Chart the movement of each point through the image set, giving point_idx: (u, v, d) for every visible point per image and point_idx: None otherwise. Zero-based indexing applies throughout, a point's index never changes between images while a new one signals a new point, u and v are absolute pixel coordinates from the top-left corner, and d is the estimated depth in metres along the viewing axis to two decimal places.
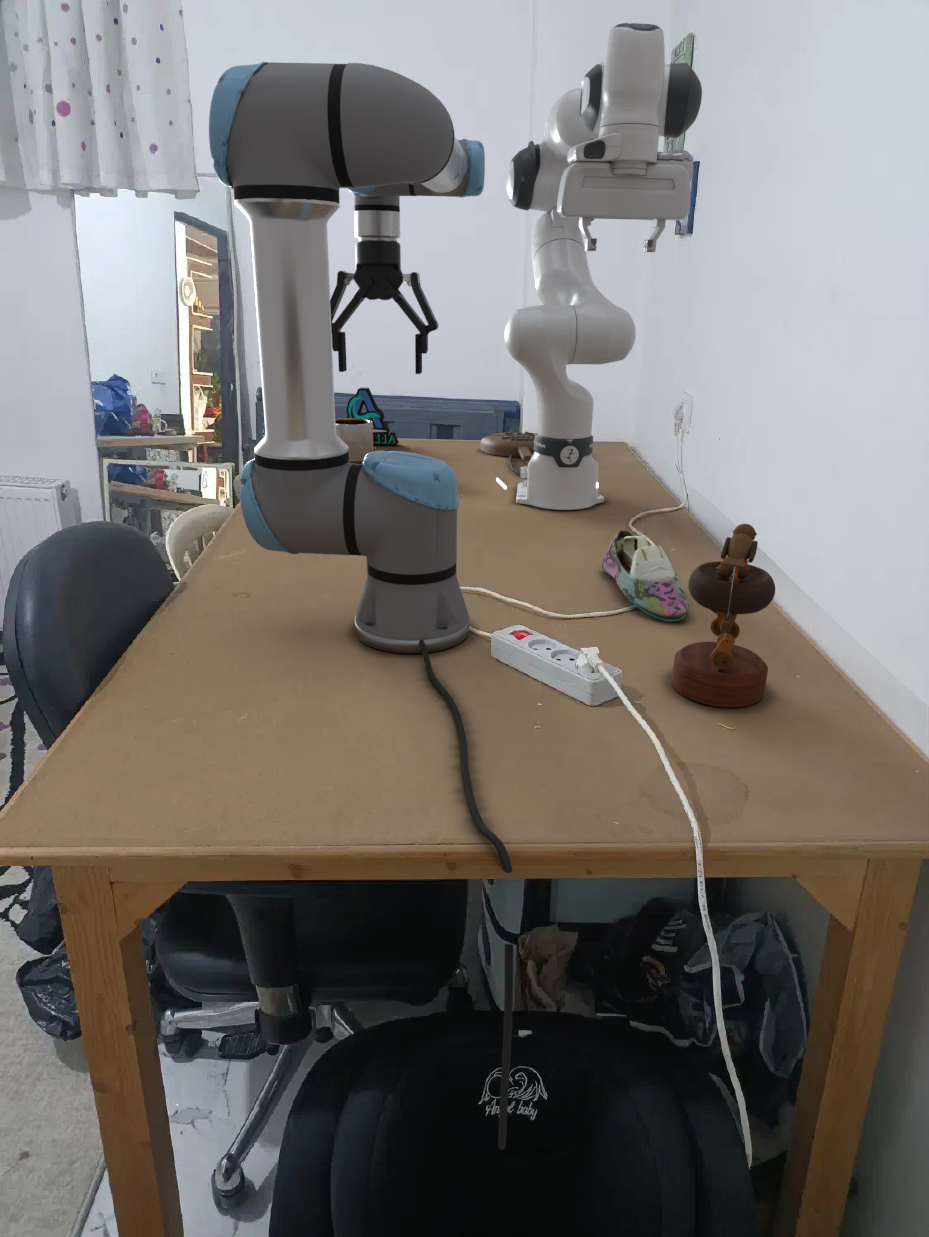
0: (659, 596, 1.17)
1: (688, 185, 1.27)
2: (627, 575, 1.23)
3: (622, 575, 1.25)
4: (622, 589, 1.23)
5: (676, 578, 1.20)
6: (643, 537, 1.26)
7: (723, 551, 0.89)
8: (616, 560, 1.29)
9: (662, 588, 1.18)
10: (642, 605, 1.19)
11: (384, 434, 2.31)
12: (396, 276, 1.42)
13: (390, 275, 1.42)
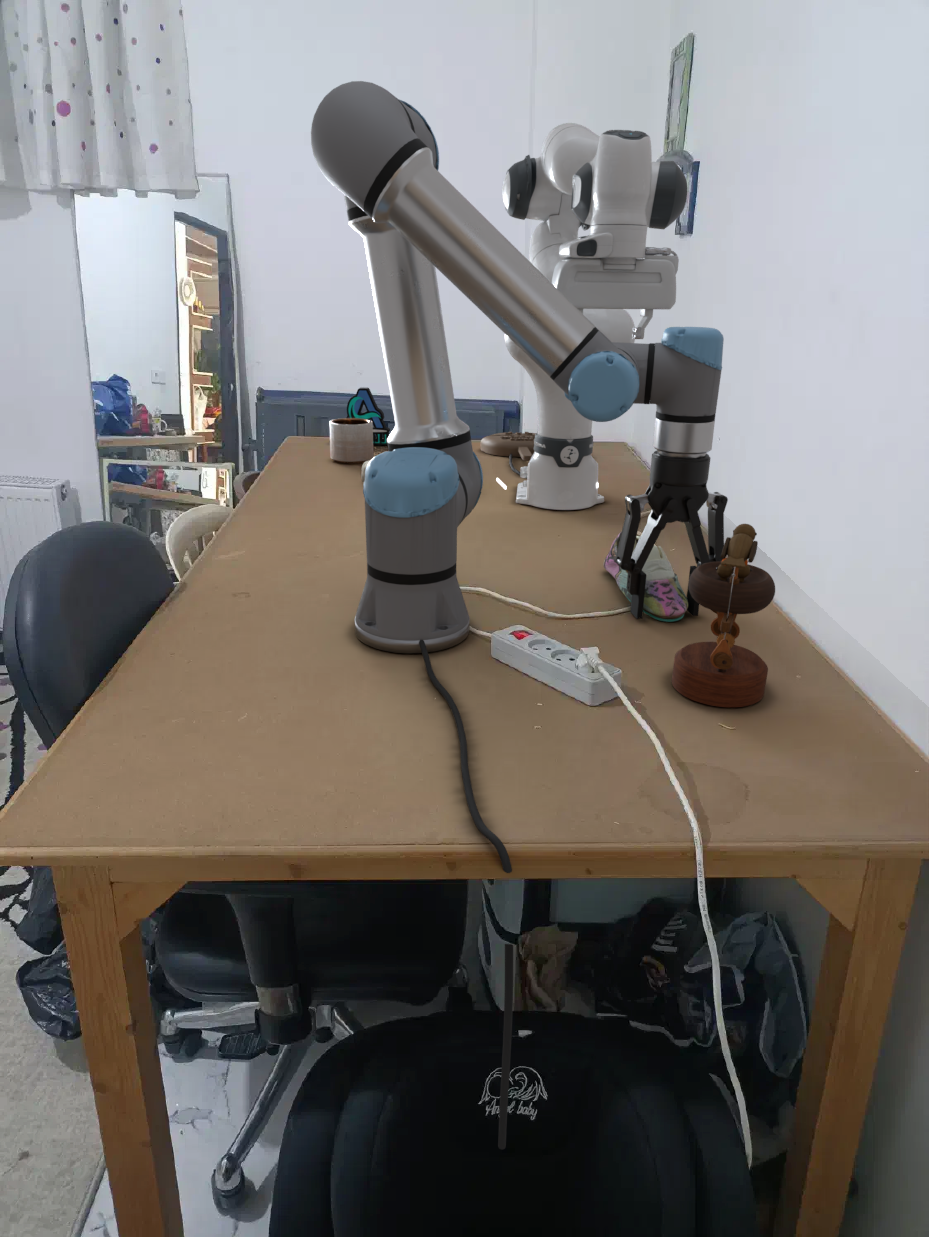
0: (657, 596, 1.17)
1: (674, 278, 1.34)
2: (627, 575, 1.23)
3: (622, 574, 1.25)
4: (621, 588, 1.23)
5: (675, 578, 1.20)
6: None
7: (723, 551, 0.89)
8: None
9: (661, 588, 1.18)
10: None
11: (384, 434, 2.31)
12: (703, 494, 1.12)
13: (696, 493, 1.12)
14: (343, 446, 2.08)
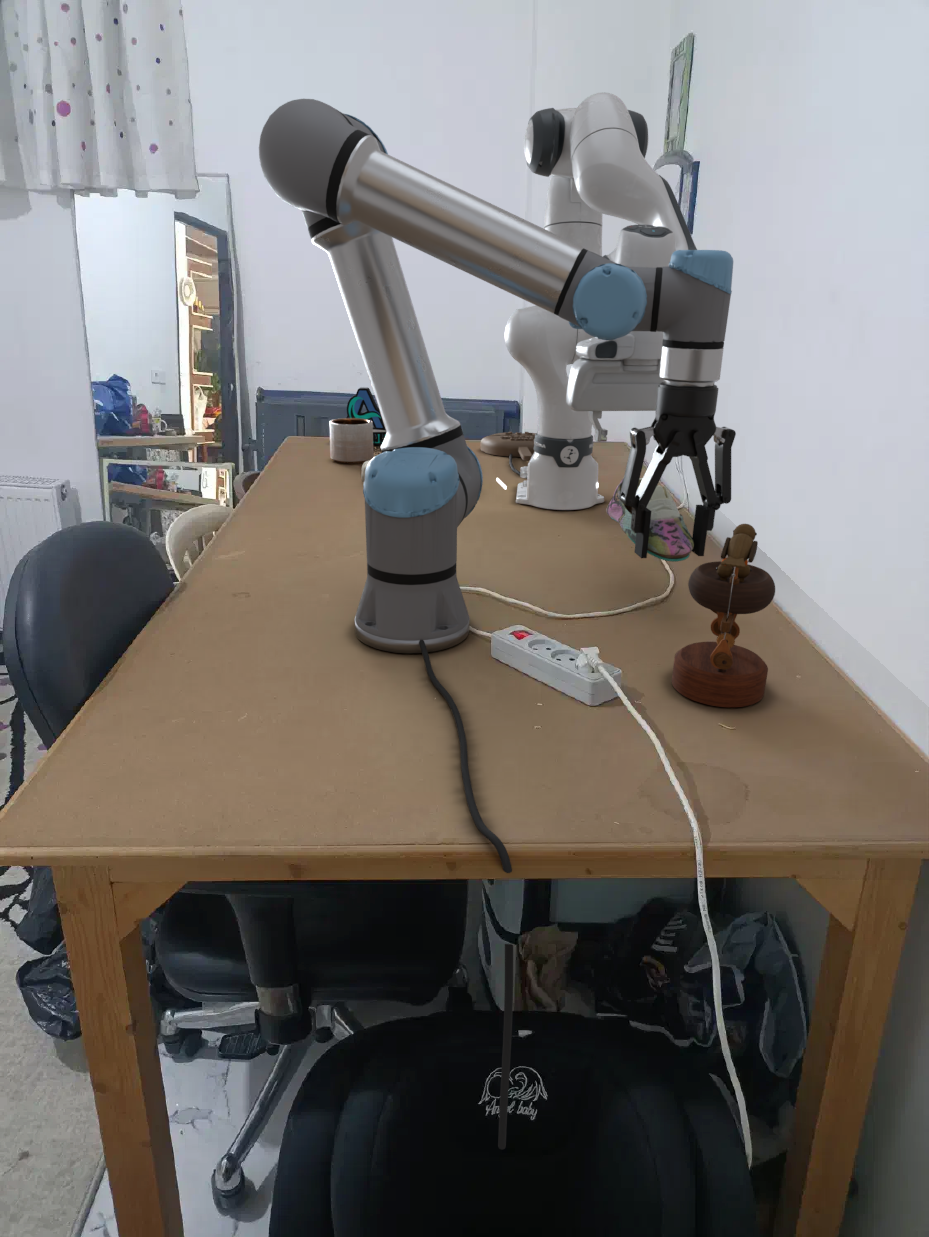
0: (662, 535, 1.14)
1: None
2: (630, 516, 1.20)
3: (625, 516, 1.22)
4: (625, 530, 1.20)
5: (680, 518, 1.16)
6: None
7: (723, 551, 0.89)
8: (620, 503, 1.26)
9: (666, 527, 1.14)
10: None
11: (384, 434, 2.31)
12: (711, 428, 1.09)
13: (704, 426, 1.09)
14: (343, 446, 2.08)
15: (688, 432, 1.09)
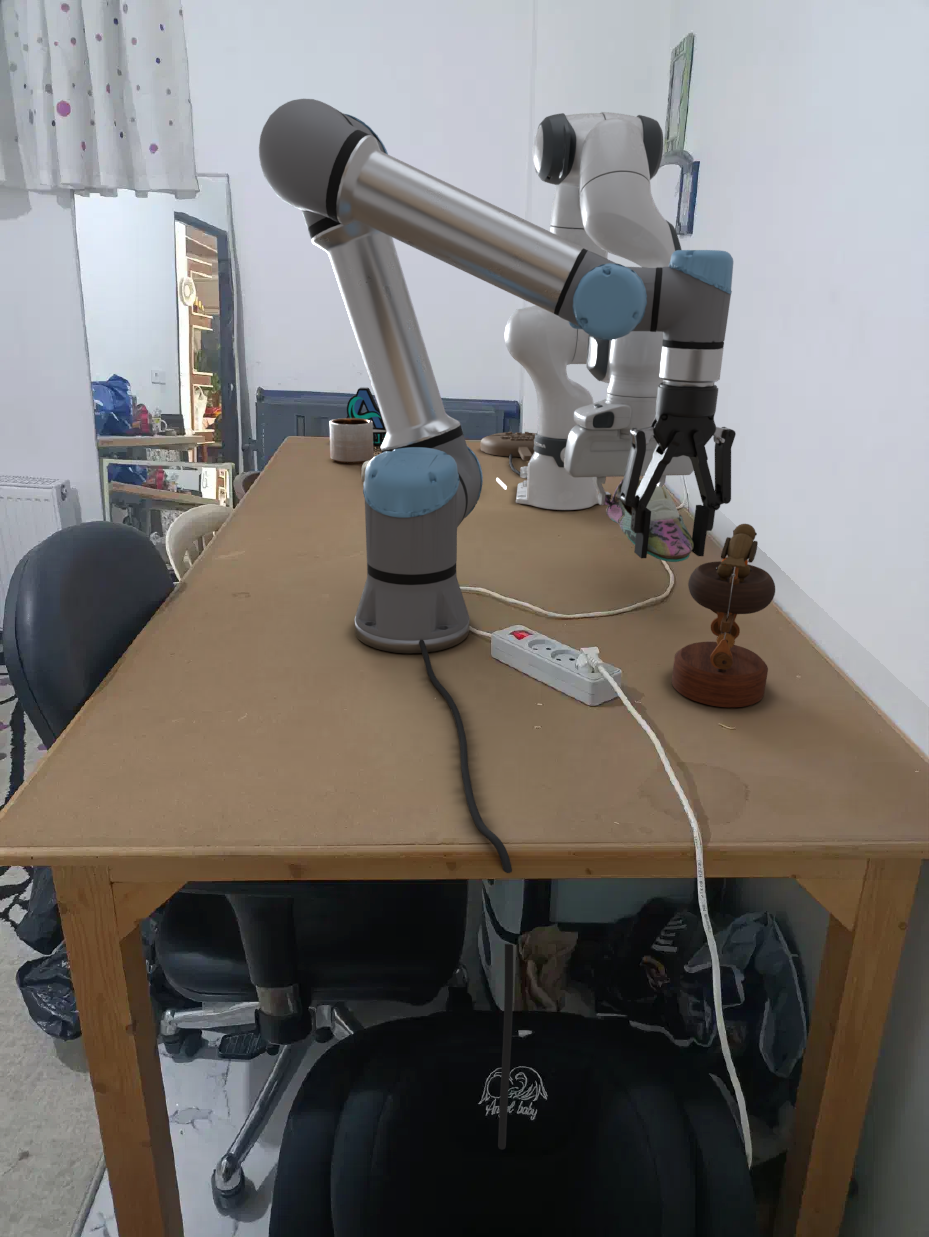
0: (662, 536, 1.14)
1: None
2: (630, 517, 1.20)
3: (625, 517, 1.22)
4: (625, 531, 1.20)
5: (680, 518, 1.16)
6: None
7: (723, 551, 0.89)
8: (620, 504, 1.26)
9: (665, 527, 1.15)
10: None
11: (384, 434, 2.31)
12: (711, 428, 1.09)
13: (704, 426, 1.09)
14: (343, 446, 2.08)
15: (688, 432, 1.09)
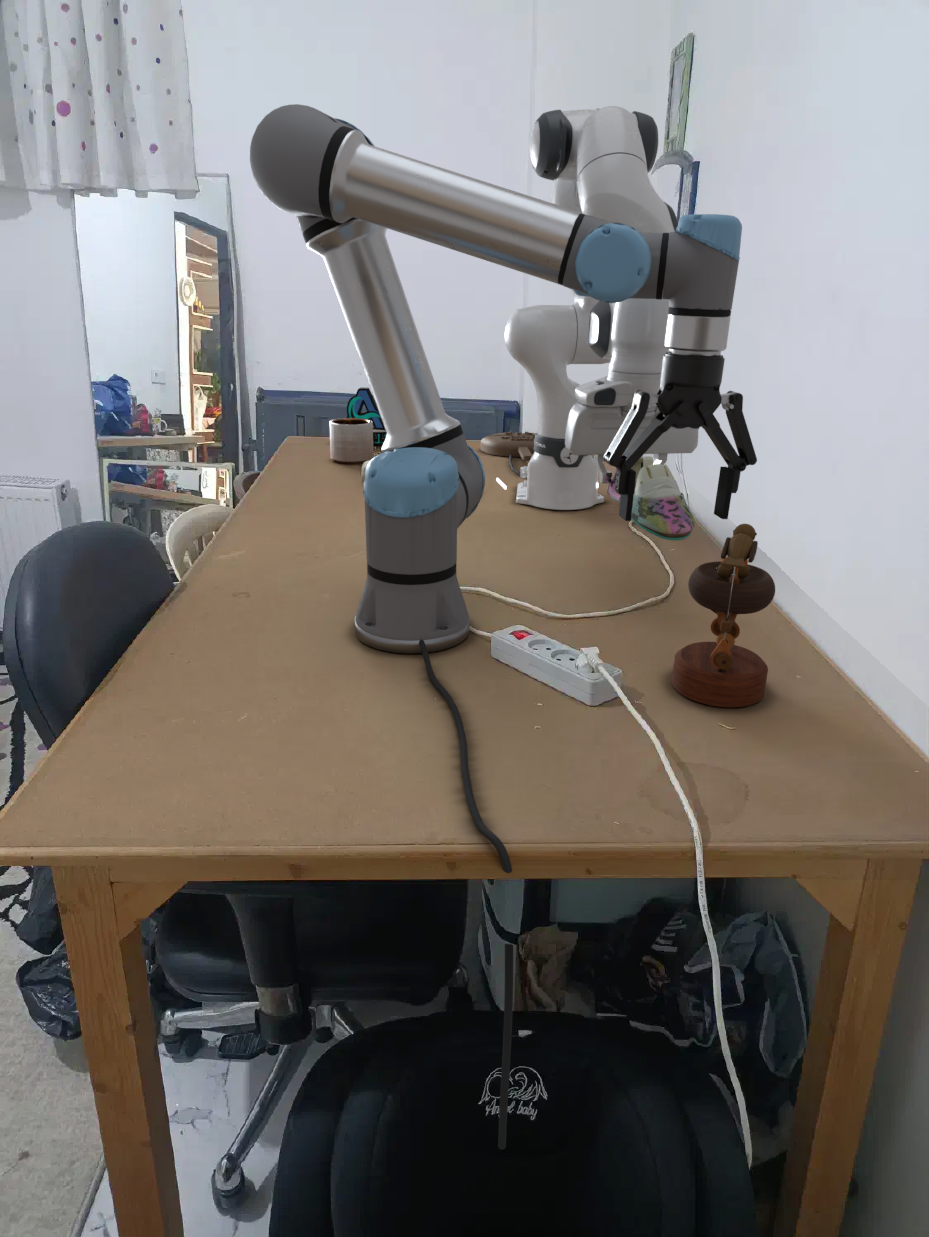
0: (663, 514, 1.13)
1: None
2: None
3: None
4: None
5: (681, 497, 1.15)
6: (649, 457, 1.22)
7: (723, 551, 0.89)
8: None
9: (667, 505, 1.14)
10: (645, 524, 1.15)
11: (384, 434, 2.31)
12: (716, 398, 1.07)
13: (709, 397, 1.07)
14: (343, 446, 2.08)
15: (692, 406, 1.07)
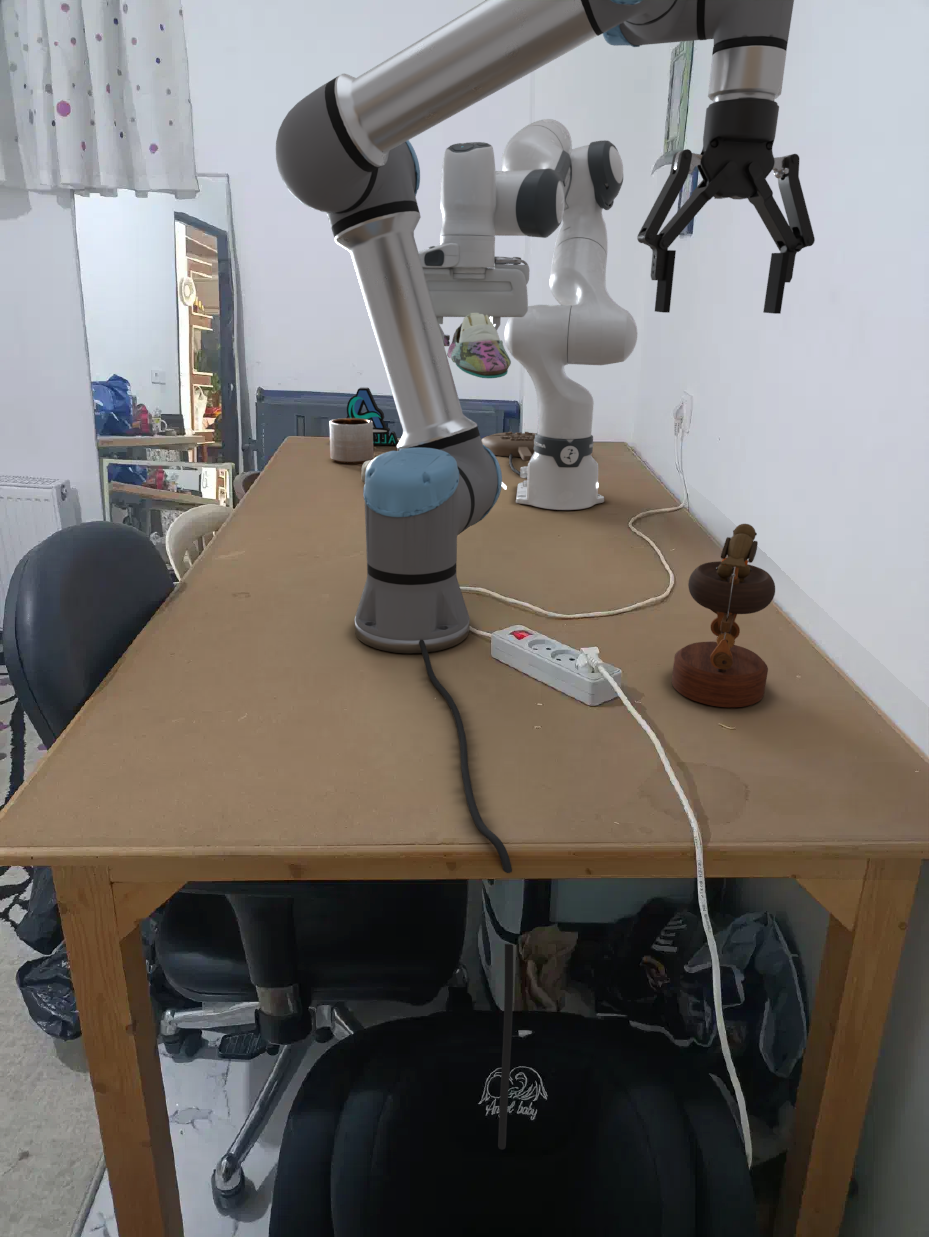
0: (479, 354, 1.24)
1: (525, 287, 1.38)
2: (457, 344, 1.29)
3: (454, 347, 1.31)
4: (452, 357, 1.29)
5: (499, 341, 1.26)
6: (476, 313, 1.32)
7: (723, 551, 0.89)
8: (454, 340, 1.35)
9: (483, 347, 1.24)
10: (465, 365, 1.25)
11: (384, 434, 2.31)
12: (768, 160, 0.92)
13: (760, 158, 0.92)
14: (343, 446, 2.08)
15: (741, 168, 0.92)
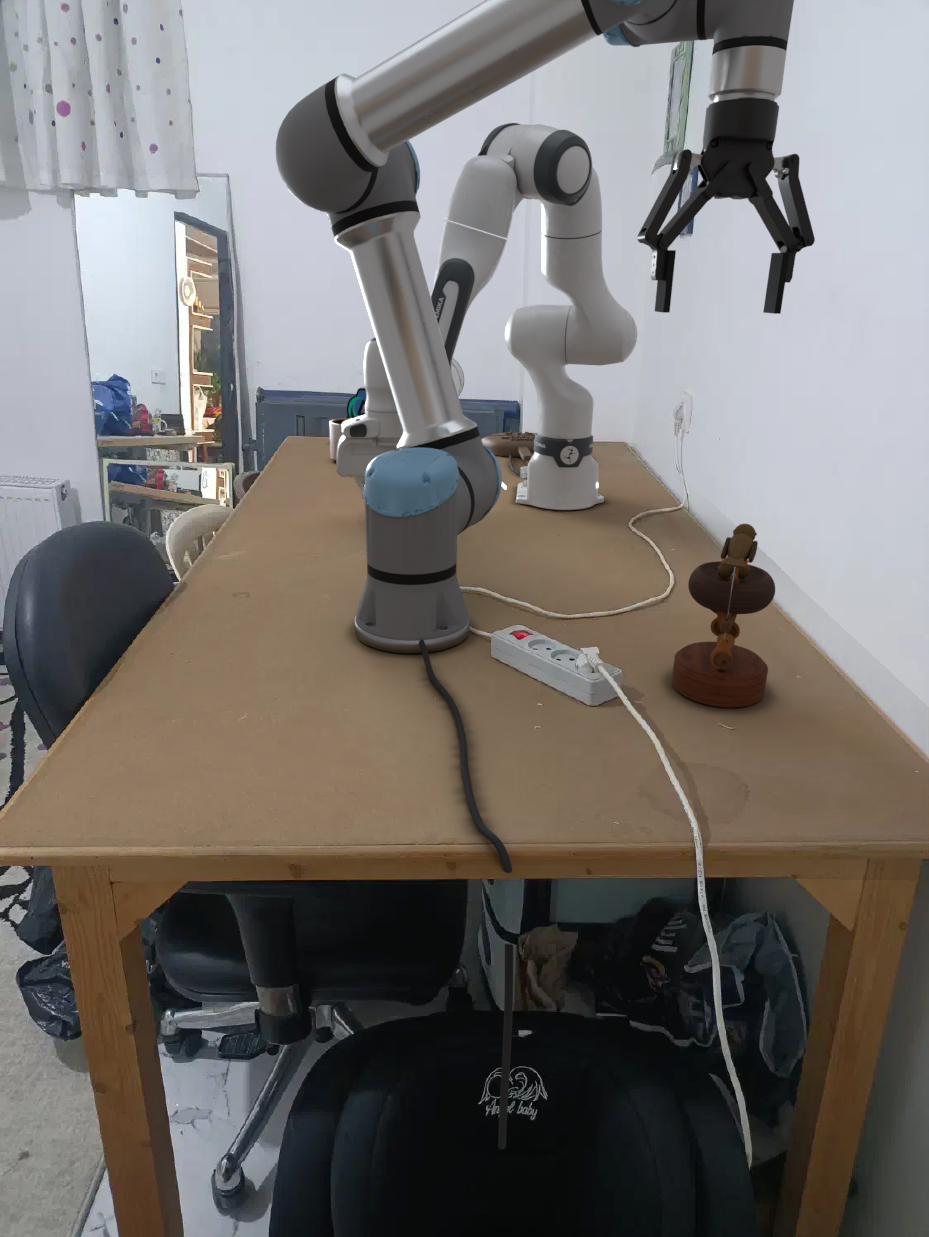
0: None
1: None
2: None
3: None
4: None
5: None
6: None
7: (723, 551, 0.89)
8: None
9: None
10: None
11: None
12: (768, 160, 0.92)
13: (760, 158, 0.92)
14: None
15: (741, 168, 0.92)
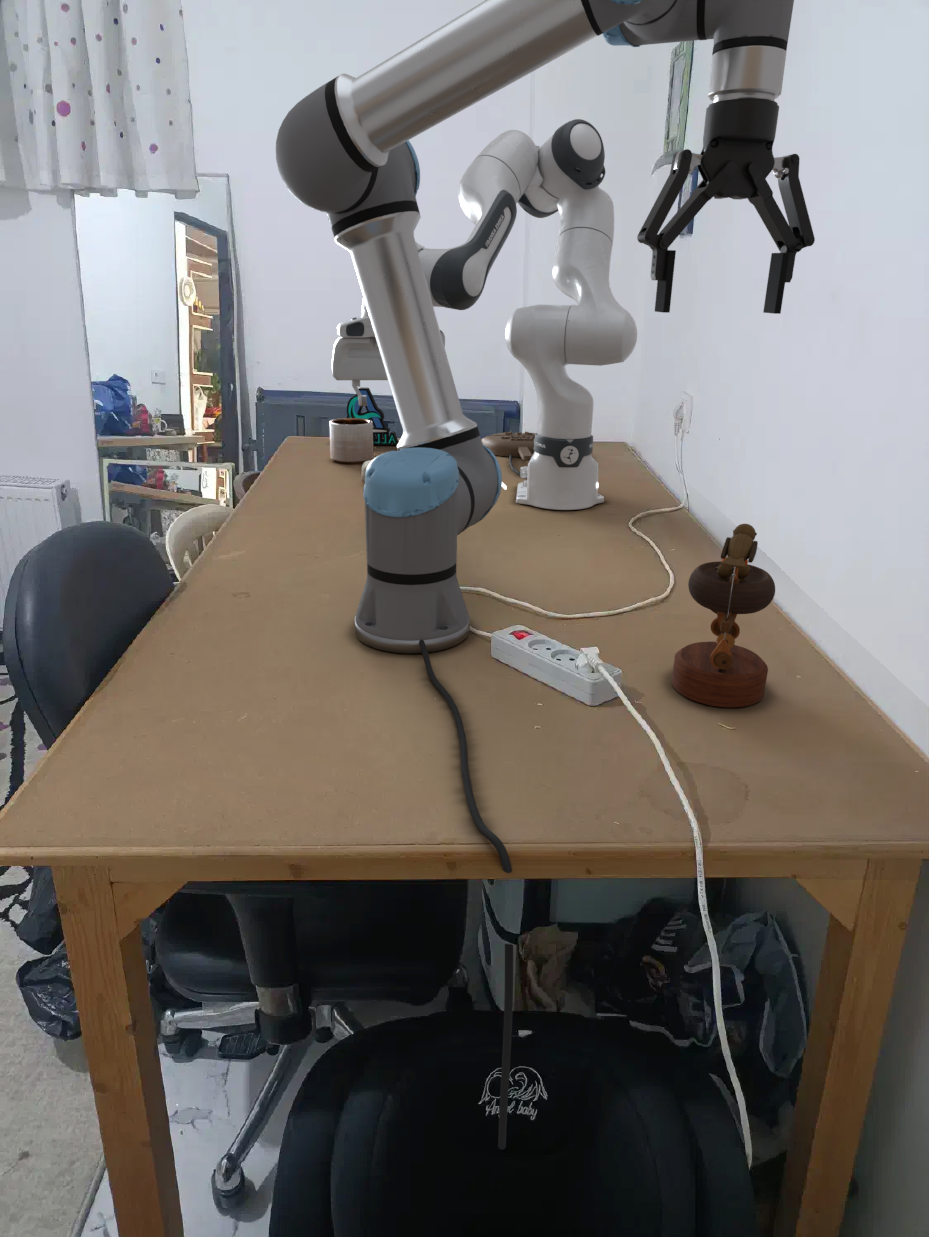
0: None
1: None
2: None
3: None
4: None
5: None
6: None
7: (723, 551, 0.89)
8: None
9: None
10: None
11: (384, 434, 2.31)
12: (768, 160, 0.92)
13: (760, 158, 0.92)
14: (343, 446, 2.08)
15: (741, 168, 0.92)
